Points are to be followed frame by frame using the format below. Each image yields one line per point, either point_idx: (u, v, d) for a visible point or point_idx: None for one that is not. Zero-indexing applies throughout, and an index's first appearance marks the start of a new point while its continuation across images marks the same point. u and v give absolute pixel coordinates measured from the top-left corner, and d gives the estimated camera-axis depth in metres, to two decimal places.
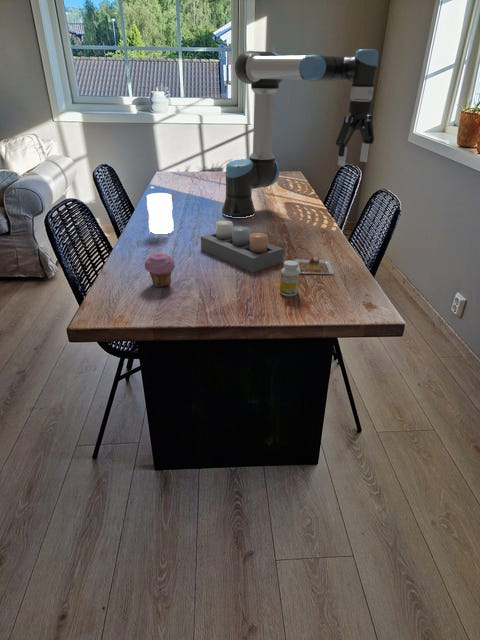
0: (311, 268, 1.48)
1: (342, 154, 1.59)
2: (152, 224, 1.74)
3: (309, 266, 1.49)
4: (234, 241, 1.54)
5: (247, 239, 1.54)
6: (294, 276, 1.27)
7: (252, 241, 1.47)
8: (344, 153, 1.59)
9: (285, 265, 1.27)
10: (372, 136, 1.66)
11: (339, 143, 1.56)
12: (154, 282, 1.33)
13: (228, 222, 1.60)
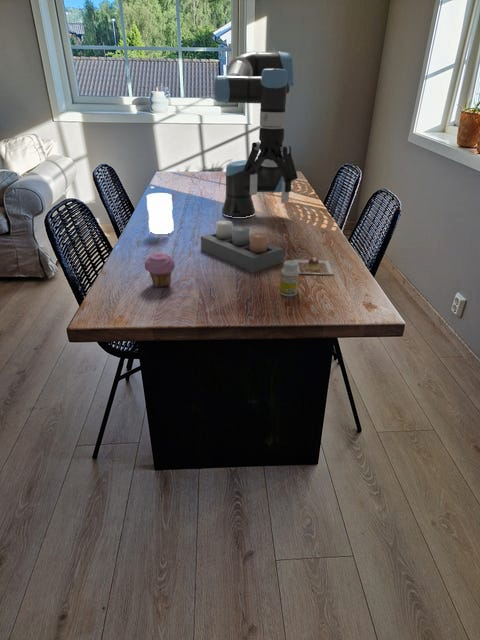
0: (310, 268, 1.48)
1: (249, 182, 1.46)
2: (152, 224, 1.74)
3: (308, 266, 1.48)
4: (234, 241, 1.54)
5: (247, 239, 1.54)
6: (294, 276, 1.27)
7: (252, 241, 1.47)
8: None
9: (285, 265, 1.27)
10: (289, 174, 1.34)
11: None
12: (154, 282, 1.33)
13: (228, 222, 1.60)
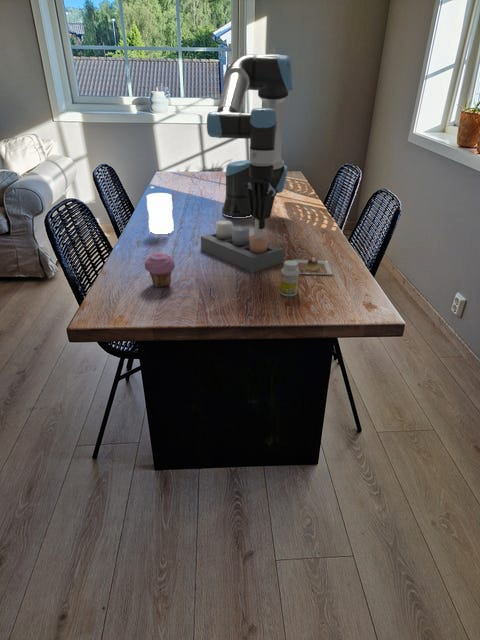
0: (309, 268, 1.48)
1: (254, 225, 1.47)
2: (152, 224, 1.74)
3: (307, 266, 1.48)
4: (234, 241, 1.54)
5: (247, 239, 1.54)
6: (294, 276, 1.27)
7: (252, 244, 1.47)
8: None
9: (285, 265, 1.27)
10: (264, 213, 1.41)
11: None
12: (154, 282, 1.33)
13: (228, 222, 1.60)
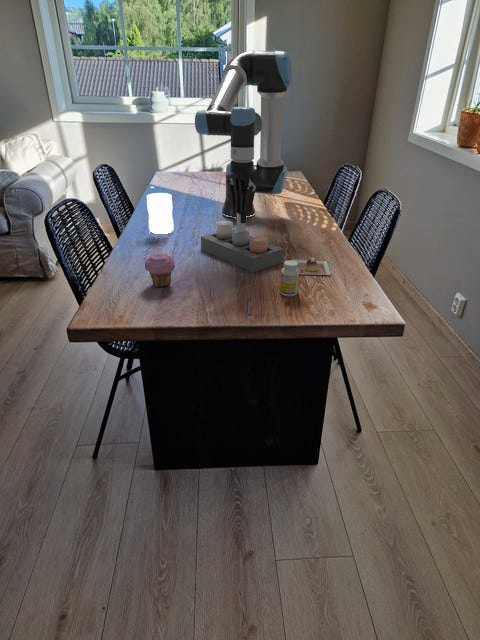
0: (308, 269, 1.48)
1: (236, 219, 1.53)
2: (152, 224, 1.74)
3: (306, 267, 1.48)
4: (234, 244, 1.54)
5: (247, 242, 1.54)
6: (294, 276, 1.27)
7: (252, 245, 1.47)
8: None
9: (285, 265, 1.27)
10: (245, 207, 1.47)
11: None
12: (154, 282, 1.33)
13: (228, 222, 1.60)
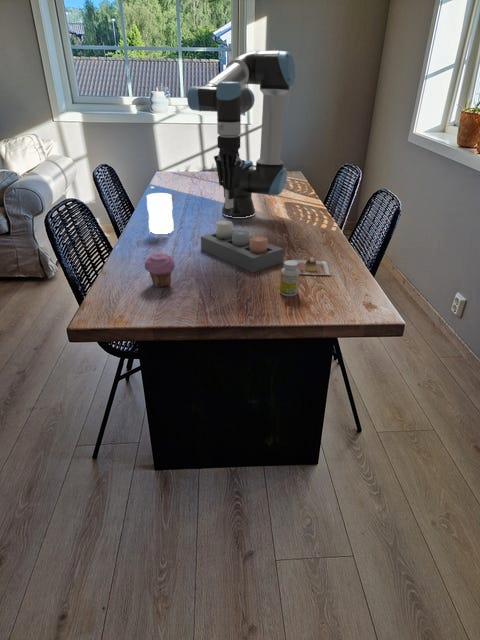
0: (307, 269, 1.48)
1: (224, 195, 1.54)
2: (152, 224, 1.74)
3: (305, 267, 1.48)
4: None
5: (247, 243, 1.54)
6: (294, 276, 1.27)
7: (252, 245, 1.47)
8: None
9: (285, 265, 1.27)
10: (233, 183, 1.49)
11: None
12: (154, 282, 1.33)
13: (228, 222, 1.60)
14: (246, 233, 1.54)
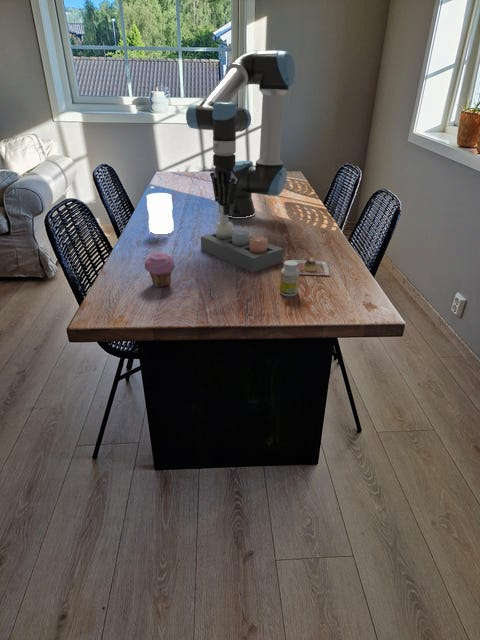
0: (307, 269, 1.47)
1: None
2: (152, 224, 1.74)
3: (305, 267, 1.48)
4: None
5: (247, 243, 1.54)
6: (294, 276, 1.27)
7: (252, 245, 1.47)
8: None
9: (285, 265, 1.27)
10: (227, 199, 1.52)
11: None
12: (154, 282, 1.33)
13: (228, 223, 1.60)
14: (246, 233, 1.54)
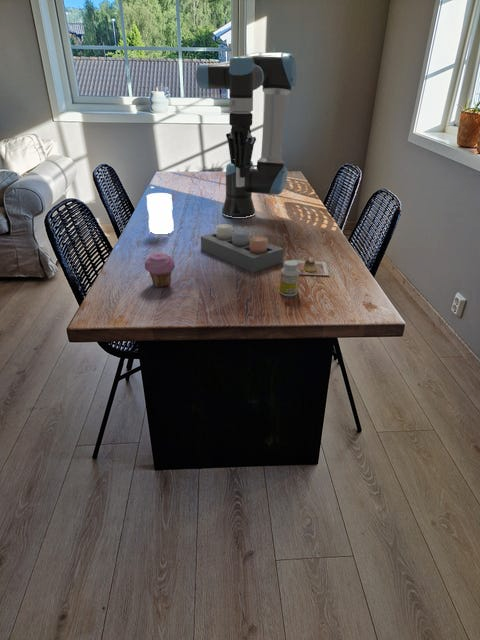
0: (306, 269, 1.47)
1: (236, 174, 1.54)
2: (152, 224, 1.74)
3: (304, 267, 1.48)
4: None
5: (247, 243, 1.54)
6: (294, 276, 1.27)
7: (252, 245, 1.47)
8: None
9: (285, 265, 1.27)
10: (244, 160, 1.48)
11: None
12: (154, 282, 1.33)
13: (228, 226, 1.61)
14: (246, 233, 1.54)
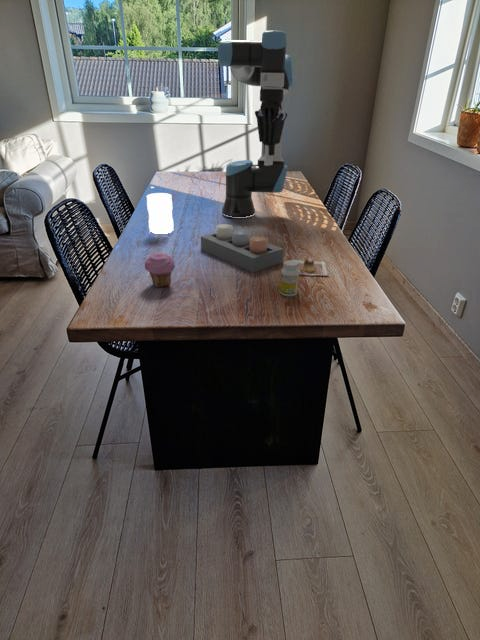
0: (305, 269, 1.47)
1: (264, 152, 1.52)
2: (152, 224, 1.74)
3: (303, 267, 1.48)
4: None
5: (247, 243, 1.54)
6: (294, 276, 1.27)
7: (252, 245, 1.47)
8: None
9: (285, 265, 1.27)
10: (274, 137, 1.46)
11: None
12: (154, 282, 1.33)
13: (228, 226, 1.61)
14: (246, 233, 1.54)
